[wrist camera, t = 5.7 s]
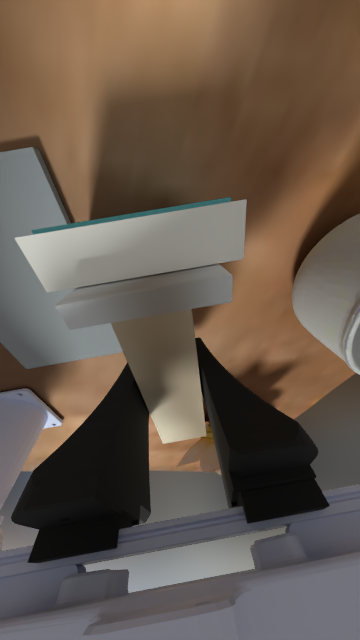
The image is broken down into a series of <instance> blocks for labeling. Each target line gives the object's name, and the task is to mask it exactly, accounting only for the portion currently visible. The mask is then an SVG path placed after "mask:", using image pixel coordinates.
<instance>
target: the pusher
mask: <svg viewBox="0 0 360 640" xmlns="http://www.w3.org/2000/svg"><path fill="white" fill-rule="evenodd" d="M232 283H233V275H232V274H230V273H229V272H228V271H227V270H226V269H224V268H223V267H222V266H221V265H220V264H219V263H218V264H212V265H206V266H200V267H195V268H189V269H183V270H177V271H171V272H165V273H159V274H154V275H148V276H142V277H136V278H130V279H124V280H118V281H113V282H107V283H101V284H95V285H89V286H83V287H77V288H75V289H74V290H73V291H71V292H70V293H69V294H68V295H67V296H66V297H65V298H63V299H62V300H61V301H60V302H59V303H58V304H57V305H55V307H56V309H57V310H58V312H59V313H60V315H61V317H62V318H63V320H64V322H65V323H66V325H67V327H68V328H69V330H73V329H79V328H84V327H90V326H96V325H102V324H108V323H111V325H112V328H113V330H114V332H115V334H116V337H117V339H118V341H119V344H120V346H121V348H122V350H123V353H124V355H125V357H126V360H127V362H128V364H129V366H130V369H131V371H132V373H133V376H134V378H135V380H136V382H137V385H138V387H139V389H140V392H141V394H142V396H143V398H144V401H145V403H146V405H147V408H148V410H149V412H150V414H151V417H152V419H153V421H154V424H155V426H156V428H157V430H158V433H159V435H160V437H161V440H162V442H163V444H164V443H170V442H175V441H181V440H186V439H192V438H198V437H203V436H207V435H206V427H205V418H204V410H203V401H202V393H201V384H200V376H199V367H198V359H197V350H196V342H195V333H194V325H193V316H192V309H194V308H200V307H206V306H212V305H218V304H223V303H229V302H232Z"/></svg>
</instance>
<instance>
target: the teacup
mask: <svg viewBox="0 0 360 640" xmlns="http://www.w3.org/2000/svg"><path fill="white" fill-rule="evenodd" d="M292 305H293V309H294V312H295V314H296V316H297V318H298V319H299V321H300V322H301V324H302V325H303V326H304V327H305V328H306V329H307V330H308V331H309V332H310V333H311V334H312V335H313V336H315V337H316V338H317V339H318V340H319V341H320V342H322V343H323V344H324V345H325V346H326V347H328V348H329V349H330V350H331V351H333V352H334V353H335V354H337V355H338V356H339V357H340V358H342V359H343V360H344V361H345V362H346V363H347V365H348V366H349V367H350V368H351V369H352V370H353V371H354V372H356V373H358V374H359V375H360V213H359V214H357V215H355V216H353V217H351V218H349V219H348V220H346V221H344V222H343V223H341V224H340V225H338V226H337V227H335V228H334V229H333V230H331V231H330V232H329V233H328V234H327V235H325V236H324V237H323V238H322V239H321V240H320V241H319V242H318V243H317V244H316V245H315V246H314V247H313V249H312V250H311V251H310V252H309V254H308V255H307V256H306V258H305V259H304V261H303V262H302V264H301V266H300V268H299V270H298V272H297V274H296V277H295V280H294V283H293V289H292Z"/></svg>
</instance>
